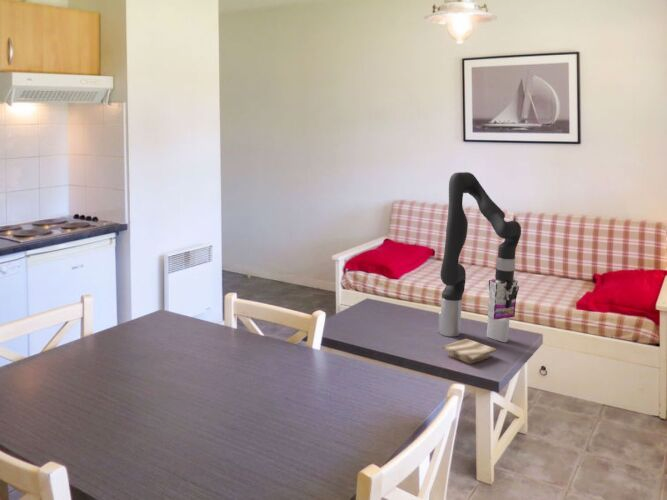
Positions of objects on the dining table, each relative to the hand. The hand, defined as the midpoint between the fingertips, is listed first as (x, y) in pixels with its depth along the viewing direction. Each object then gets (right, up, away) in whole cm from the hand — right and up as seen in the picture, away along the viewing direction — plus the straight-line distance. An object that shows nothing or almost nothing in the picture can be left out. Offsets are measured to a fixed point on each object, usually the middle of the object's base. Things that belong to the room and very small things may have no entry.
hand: (501, 306), depth 279 cm
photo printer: (+3, -17, +20) cm, 27 cm away
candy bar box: (0, -5, +1) cm, 5 cm away
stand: (-15, -21, -2) cm, 26 cm away
